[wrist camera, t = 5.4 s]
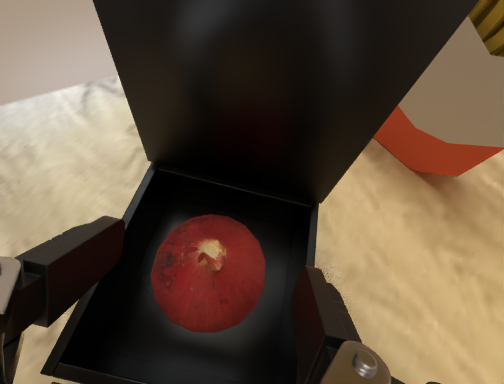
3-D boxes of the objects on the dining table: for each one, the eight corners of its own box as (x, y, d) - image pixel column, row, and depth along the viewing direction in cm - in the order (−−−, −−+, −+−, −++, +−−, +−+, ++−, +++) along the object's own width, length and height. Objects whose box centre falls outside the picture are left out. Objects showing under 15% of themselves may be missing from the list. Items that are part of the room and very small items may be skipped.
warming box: (277, 401, 13) (302, 436, 9) (91, 357, 13) (38, 374, 9) (298, 226, 19) (319, 202, 15) (165, 193, 19) (152, 161, 15)
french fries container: (432, 192, 22) (947, -109, 7) (349, 119, 26) (557, -193, 10) (454, 170, 24) (903, -109, 8) (374, 105, 27) (584, -181, 12)
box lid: (557, -98, 5) (538, -101, 5) (6, -244, 4) (33, -235, 5) (321, 204, 14) (321, 194, 15) (147, 161, 14) (152, 153, 15)
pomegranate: (157, 325, 14) (95, 334, 7) (178, 233, 17) (148, 174, 10) (252, 332, 14) (284, 347, 7) (257, 242, 17) (284, 190, 10)
